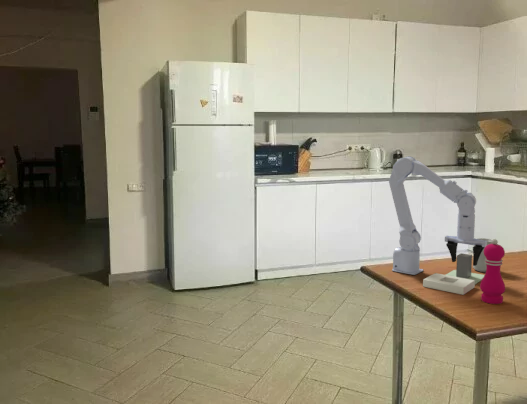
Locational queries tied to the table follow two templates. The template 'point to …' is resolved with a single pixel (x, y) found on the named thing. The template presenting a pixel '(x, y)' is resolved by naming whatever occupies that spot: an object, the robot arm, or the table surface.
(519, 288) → the table surface
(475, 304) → the table surface
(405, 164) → the robot arm
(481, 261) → the can
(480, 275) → the mat
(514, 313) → the table surface
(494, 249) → the pepper mill
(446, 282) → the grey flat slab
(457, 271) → the plug
